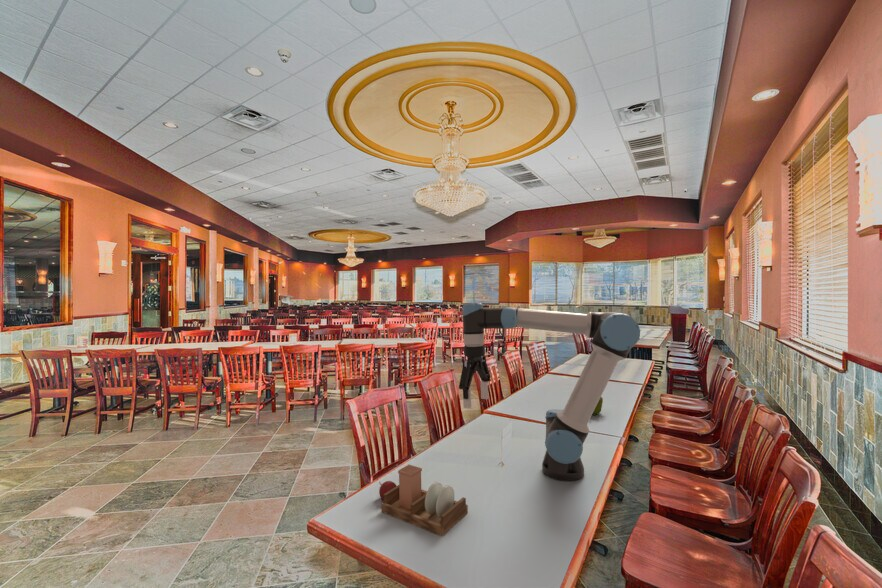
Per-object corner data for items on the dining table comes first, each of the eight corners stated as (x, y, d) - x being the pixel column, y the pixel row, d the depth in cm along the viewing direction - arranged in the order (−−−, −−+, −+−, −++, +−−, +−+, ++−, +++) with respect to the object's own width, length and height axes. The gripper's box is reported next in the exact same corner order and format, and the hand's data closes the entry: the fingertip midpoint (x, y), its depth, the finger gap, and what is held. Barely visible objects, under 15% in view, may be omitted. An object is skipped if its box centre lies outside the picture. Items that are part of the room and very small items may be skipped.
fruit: (391, 498, 132) (383, 475, 135) (402, 494, 129) (393, 471, 132) (378, 506, 128) (370, 482, 130) (389, 502, 125) (380, 478, 127)
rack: (467, 512, 119) (467, 496, 119) (442, 536, 108) (441, 518, 108) (409, 492, 132) (409, 478, 132) (381, 511, 121) (381, 495, 121)
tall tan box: (409, 497, 127) (408, 464, 127) (422, 502, 124) (421, 468, 124) (398, 505, 123) (398, 470, 123) (411, 510, 120) (411, 474, 120)
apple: (577, 409, 225) (577, 390, 225) (599, 410, 223) (599, 390, 223) (582, 416, 212) (581, 395, 213) (605, 416, 211) (605, 396, 211)
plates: (454, 510, 119) (454, 481, 119) (437, 524, 112) (437, 493, 112) (442, 505, 122) (441, 477, 122) (424, 519, 114) (424, 489, 114)
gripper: (480, 341, 154) (482, 394, 154) (447, 349, 133) (449, 410, 133) (497, 341, 150) (499, 396, 150) (466, 349, 129) (469, 413, 129)
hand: (476, 403), depth 142 cm, fingers open, 13 cm apart
